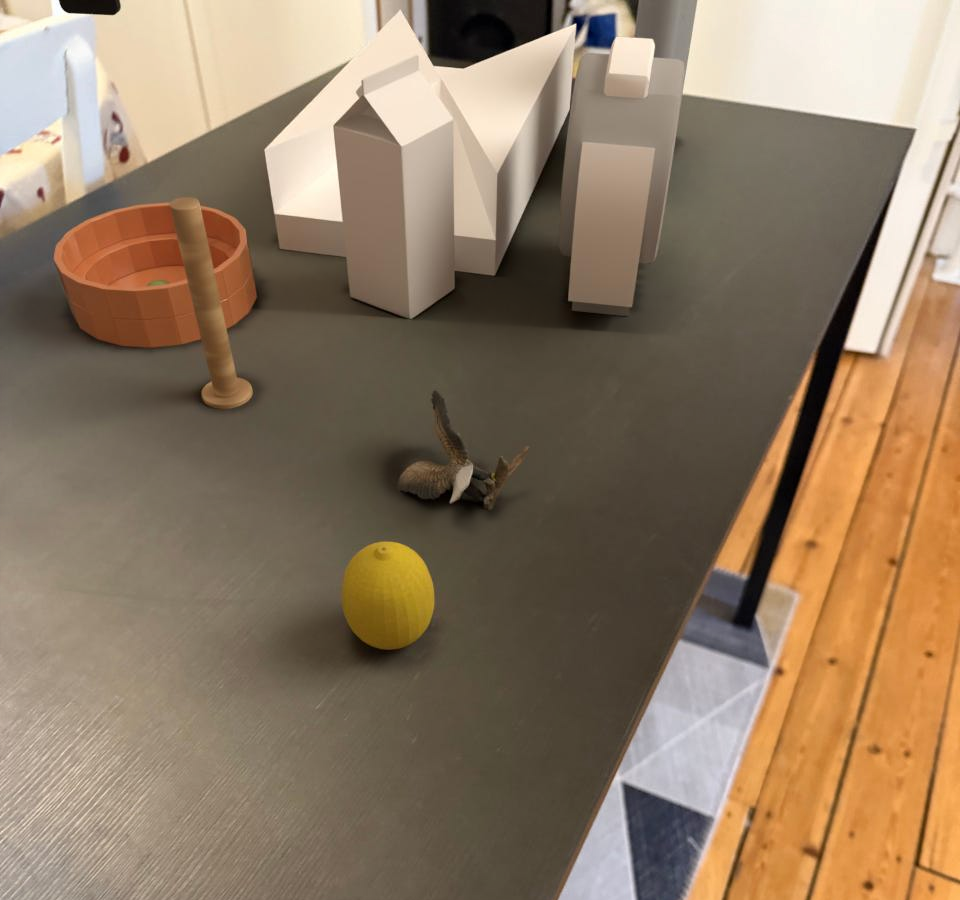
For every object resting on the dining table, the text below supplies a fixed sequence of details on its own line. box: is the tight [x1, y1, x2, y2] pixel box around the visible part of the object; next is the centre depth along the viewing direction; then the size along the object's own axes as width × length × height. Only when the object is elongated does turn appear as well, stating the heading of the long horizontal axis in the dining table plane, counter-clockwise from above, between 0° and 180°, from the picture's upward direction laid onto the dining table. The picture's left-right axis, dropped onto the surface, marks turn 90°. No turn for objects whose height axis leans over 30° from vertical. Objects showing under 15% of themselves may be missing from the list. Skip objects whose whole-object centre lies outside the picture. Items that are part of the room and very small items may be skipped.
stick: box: [169, 196, 254, 410], centre depth 69 cm, size 4×4×16 cm
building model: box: [263, 9, 577, 277], centre depth 102 cm, size 45×22×10 cm, turn 167°
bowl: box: [53, 202, 258, 349], centre depth 82 cm, size 16×16×6 cm
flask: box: [633, 0, 698, 107], centre depth 96 cm, size 17×5×25 cm, turn 162°
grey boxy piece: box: [558, 36, 685, 317], centre depth 80 cm, size 18×8×20 cm, turn 170°
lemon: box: [340, 541, 435, 651], centre depth 55 cm, size 6×6×8 cm
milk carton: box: [333, 55, 456, 320], centre depth 79 cm, size 7×7×19 cm
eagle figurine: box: [397, 388, 530, 510], centre depth 65 cm, size 8×7×9 cm
